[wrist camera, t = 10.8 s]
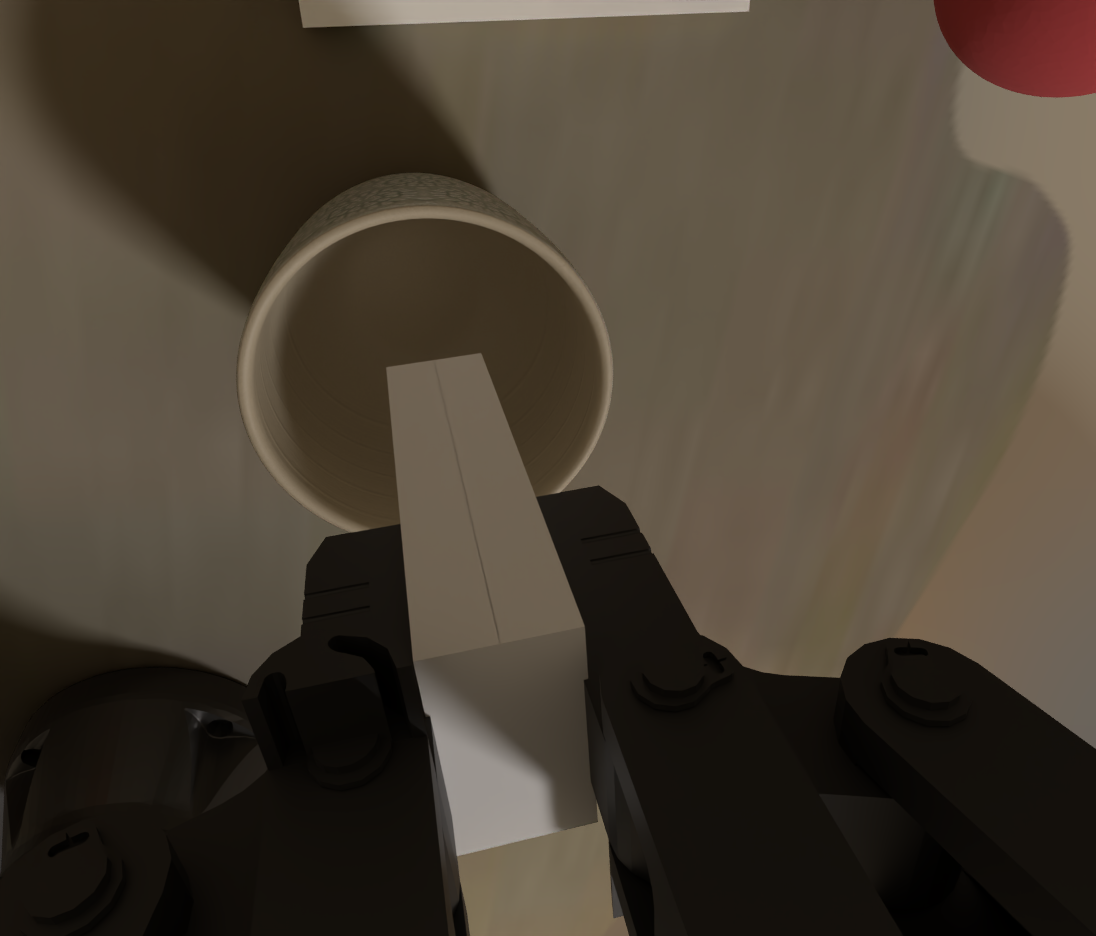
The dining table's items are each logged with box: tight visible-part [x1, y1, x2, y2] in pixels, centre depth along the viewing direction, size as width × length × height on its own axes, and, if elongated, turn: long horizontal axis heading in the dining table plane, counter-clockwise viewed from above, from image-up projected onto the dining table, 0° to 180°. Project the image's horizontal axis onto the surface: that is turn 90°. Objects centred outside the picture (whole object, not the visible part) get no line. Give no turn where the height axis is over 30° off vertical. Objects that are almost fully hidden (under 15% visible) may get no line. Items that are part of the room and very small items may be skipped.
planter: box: [236, 173, 613, 533], centre depth 31 cm, size 12×12×11 cm
